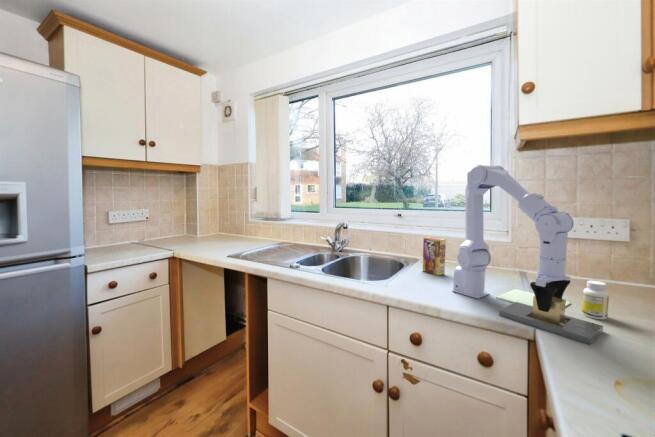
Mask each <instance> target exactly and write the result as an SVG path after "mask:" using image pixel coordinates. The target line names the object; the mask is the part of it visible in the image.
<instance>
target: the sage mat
mask: <svg viewBox="0 0 655 437" xmlns="http://www.w3.org/2000/svg"><path fill="white" fill-rule="evenodd" d="M533 296H535V294H534V292H530V291H525V290H521V289H518V288H517V289H516V288H514V289H512V290H511V289H510V291H509V290H508V291H507V292H504V293H502V294H501V295H498V296H496V299H498V300H502V301H505V302H509V303H511V304H513V303H515V302H519V303H522V304H526V305H530V306H533ZM571 304H572V303H571V302H570V301H567V300H566V304H565V308H567V307H568V306H570V305H571Z"/></svg>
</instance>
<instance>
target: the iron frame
mask: <svg viewBox="0 0 655 437" xmlns="http://www.w3.org/2000/svg"><path fill="white" fill-rule="evenodd" d="M498 311H499V312H498V316H500V317H503V318H506V319H510V320H512V321H515V322H518V323H522V324H525V325H528V326H531V327H534V328H537V329H541V330H543V331H546V332H549V333H552V334H555V335H559V336H561V337H565V338H569V339H570V340H573V341H574V340H575V341H578V342H580V343H583V344H586V345H589V346H590V345H591V344H592V343H593V342H594V341H595V340H596V339H598V337H599V336H600V335H602V333H603V332H604V325H603V324H598V323H594V322H591V321H589V320H587V321H586V320H583V319H580V318H576V317H572V316H569V315H565V318H564V325H563V326H562V327H560V326H557V325H553V324H550V323H547V322H544V321H540V320H537V319H534V318H532V312H533V306H530V305H526V304H522V303H519V302H515V303H510V304H509V305H507V306H505V307H502V308H501V309H499V310H498Z"/></svg>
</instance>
